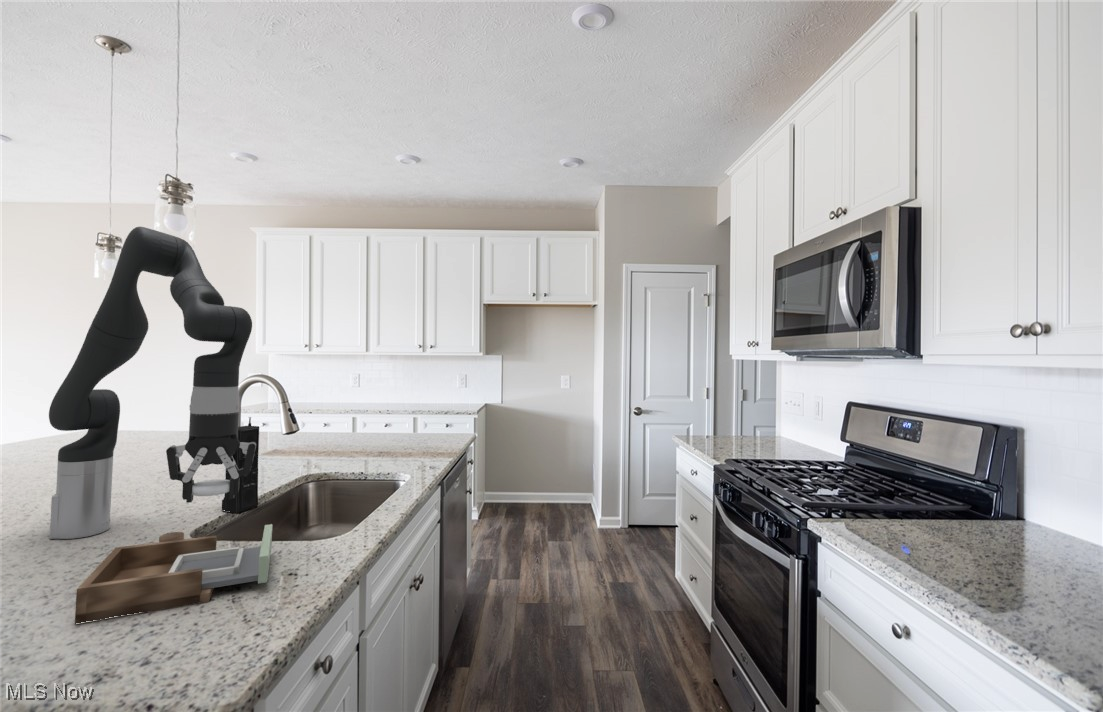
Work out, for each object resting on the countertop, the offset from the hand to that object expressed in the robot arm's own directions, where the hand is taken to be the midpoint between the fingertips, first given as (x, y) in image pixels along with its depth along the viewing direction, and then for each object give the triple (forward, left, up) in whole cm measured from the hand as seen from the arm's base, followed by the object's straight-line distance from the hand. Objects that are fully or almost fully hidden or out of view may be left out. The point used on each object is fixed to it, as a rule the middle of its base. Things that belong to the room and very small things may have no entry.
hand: (211, 499), depth 88 cm
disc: (0, 0, +1) cm, 1 cm away
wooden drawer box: (-7, 0, -15) cm, 17 cm away
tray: (+2, 0, -14) cm, 14 cm away
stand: (-8, +14, -15) cm, 22 cm away
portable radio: (+1, +46, -16) cm, 49 cm away
